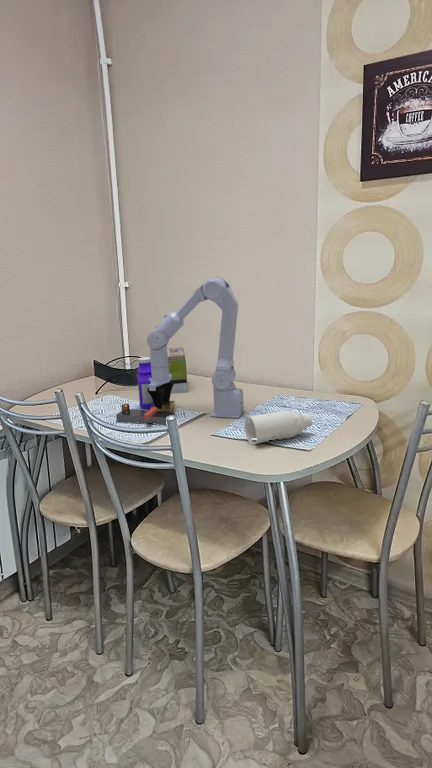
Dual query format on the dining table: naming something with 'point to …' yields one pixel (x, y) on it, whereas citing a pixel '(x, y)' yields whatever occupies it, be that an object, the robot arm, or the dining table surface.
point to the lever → (150, 413)
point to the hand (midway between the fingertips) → (162, 405)
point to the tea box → (177, 369)
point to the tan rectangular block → (167, 406)
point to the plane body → (141, 415)
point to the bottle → (144, 382)
